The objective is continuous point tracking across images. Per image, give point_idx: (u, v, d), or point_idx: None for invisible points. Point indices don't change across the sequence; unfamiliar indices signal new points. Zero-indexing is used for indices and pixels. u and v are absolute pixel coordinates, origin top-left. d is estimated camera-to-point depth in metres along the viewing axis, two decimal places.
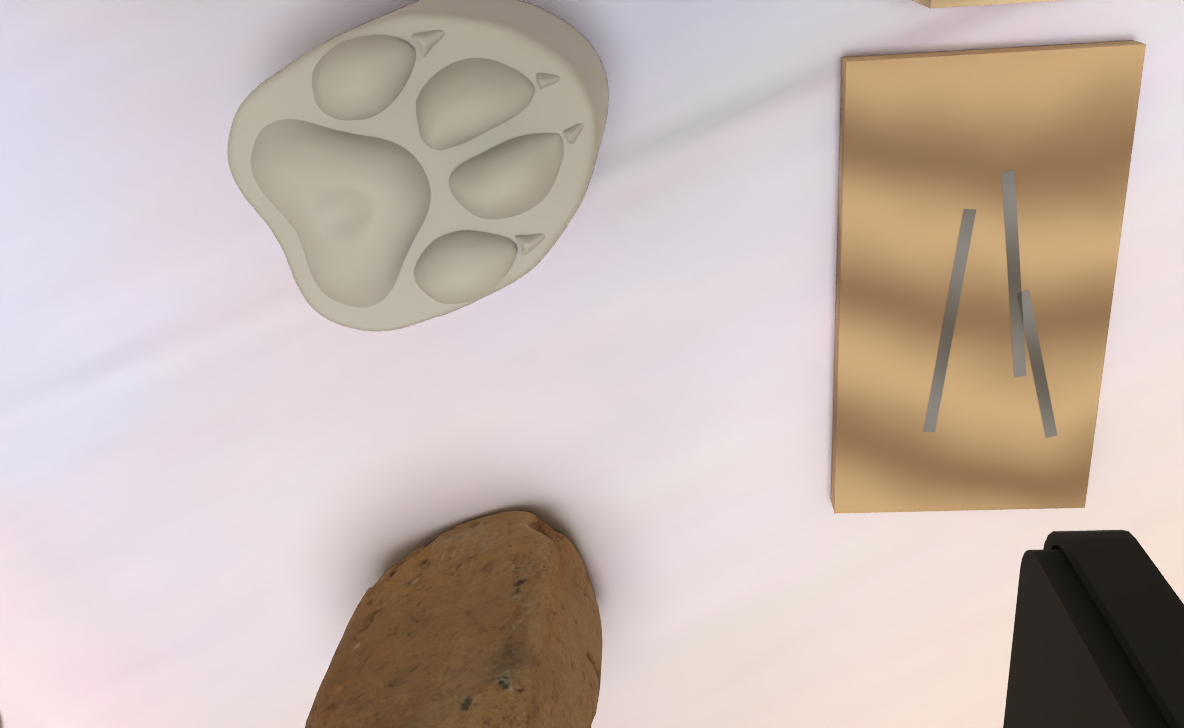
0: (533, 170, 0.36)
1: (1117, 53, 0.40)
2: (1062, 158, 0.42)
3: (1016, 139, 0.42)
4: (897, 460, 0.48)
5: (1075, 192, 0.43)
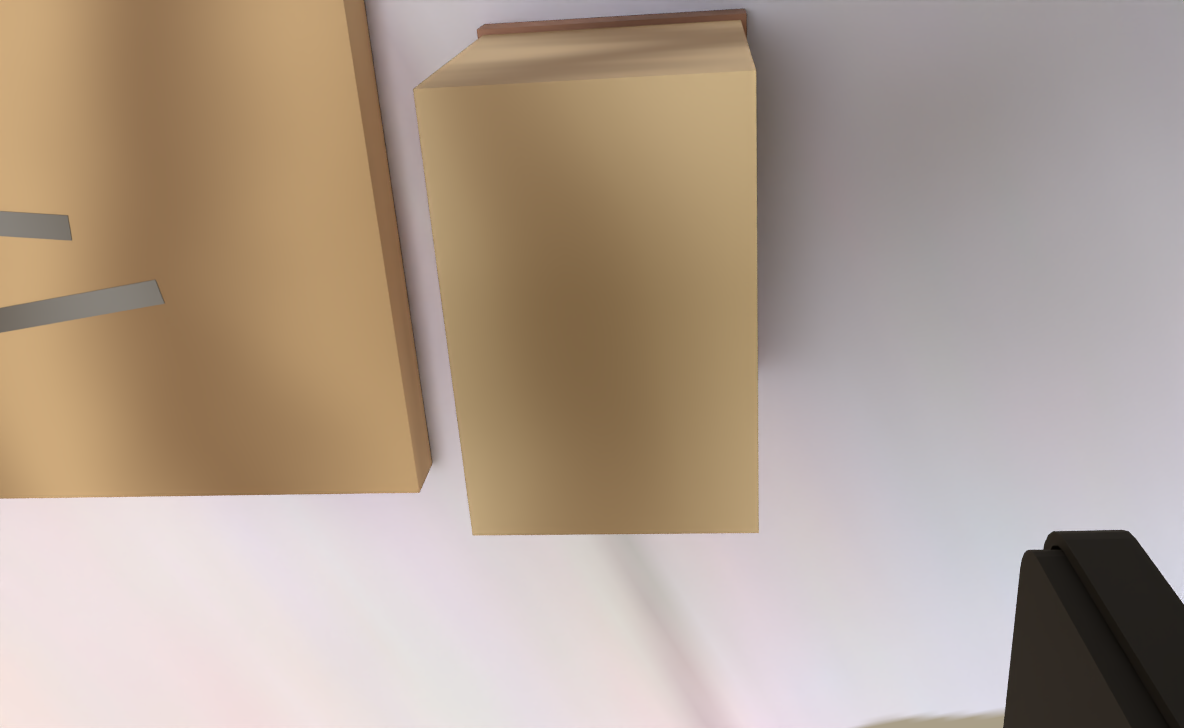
0: None
1: (398, 451, 0.22)
2: (201, 385, 0.22)
3: (222, 300, 0.21)
4: None
5: (143, 415, 0.22)
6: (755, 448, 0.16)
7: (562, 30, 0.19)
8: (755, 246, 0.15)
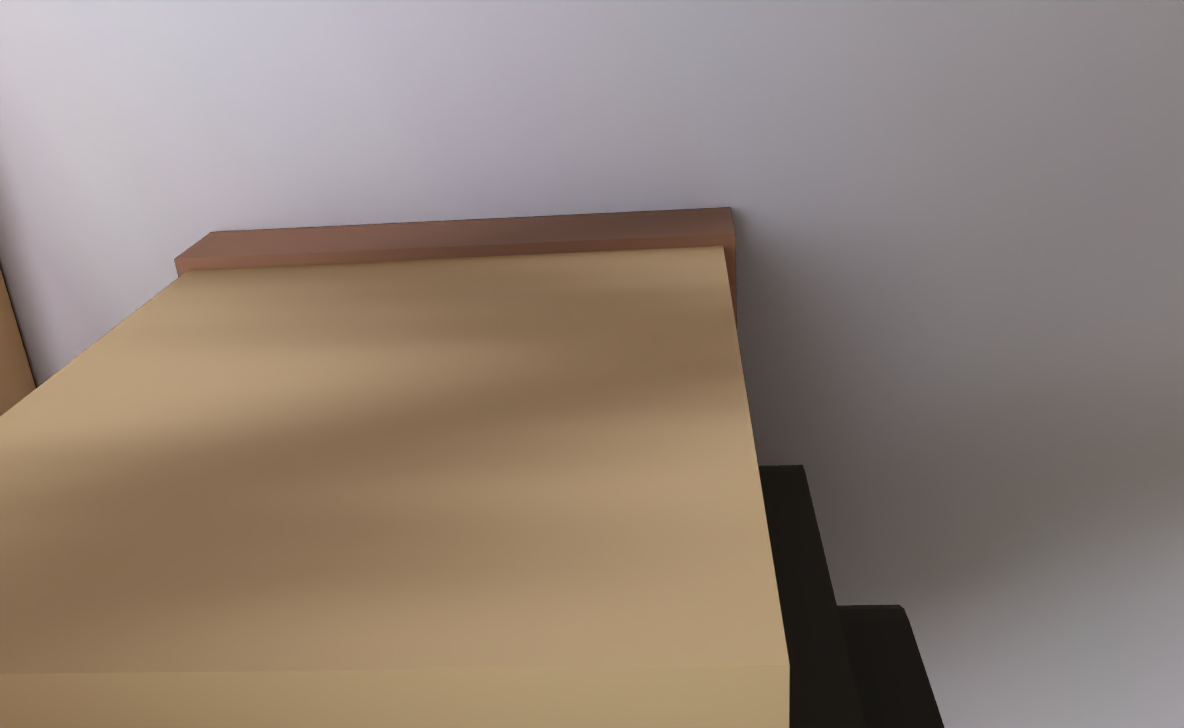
0: None
1: None
2: None
3: None
4: None
5: None
6: None
7: (349, 264, 0.09)
8: None
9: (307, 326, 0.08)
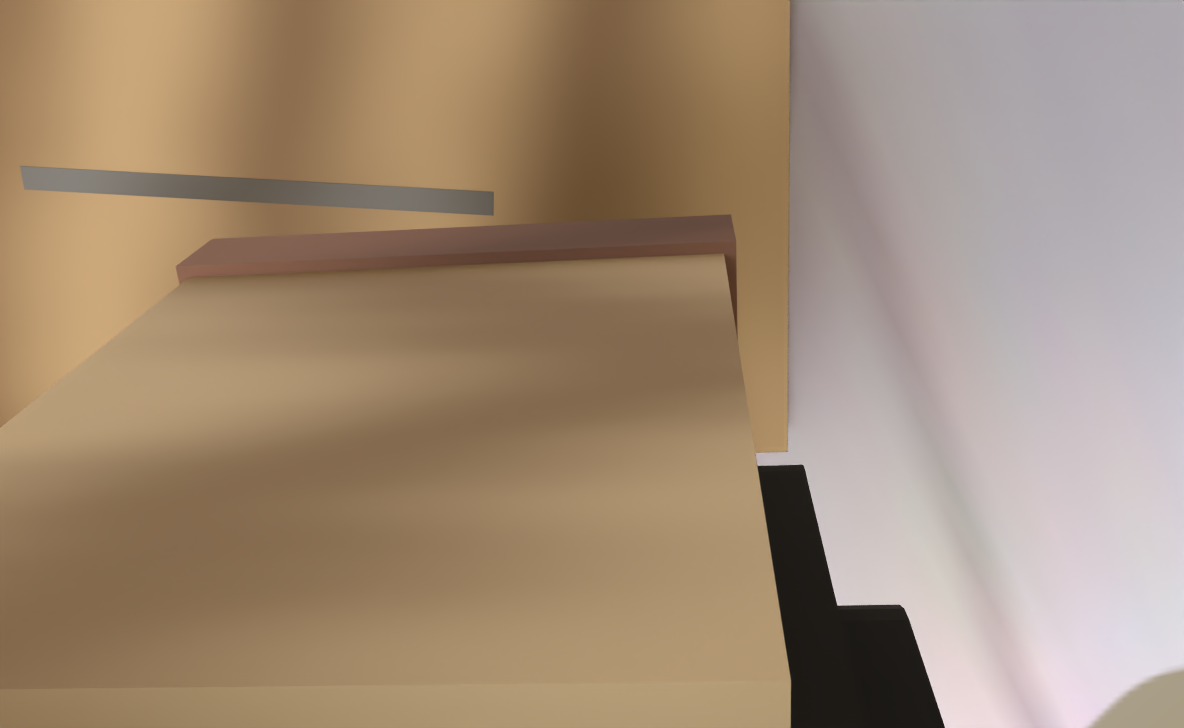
0: None
1: (774, 413, 0.24)
2: None
3: None
4: None
5: None
6: None
7: (350, 271, 0.09)
8: None
9: (309, 334, 0.08)
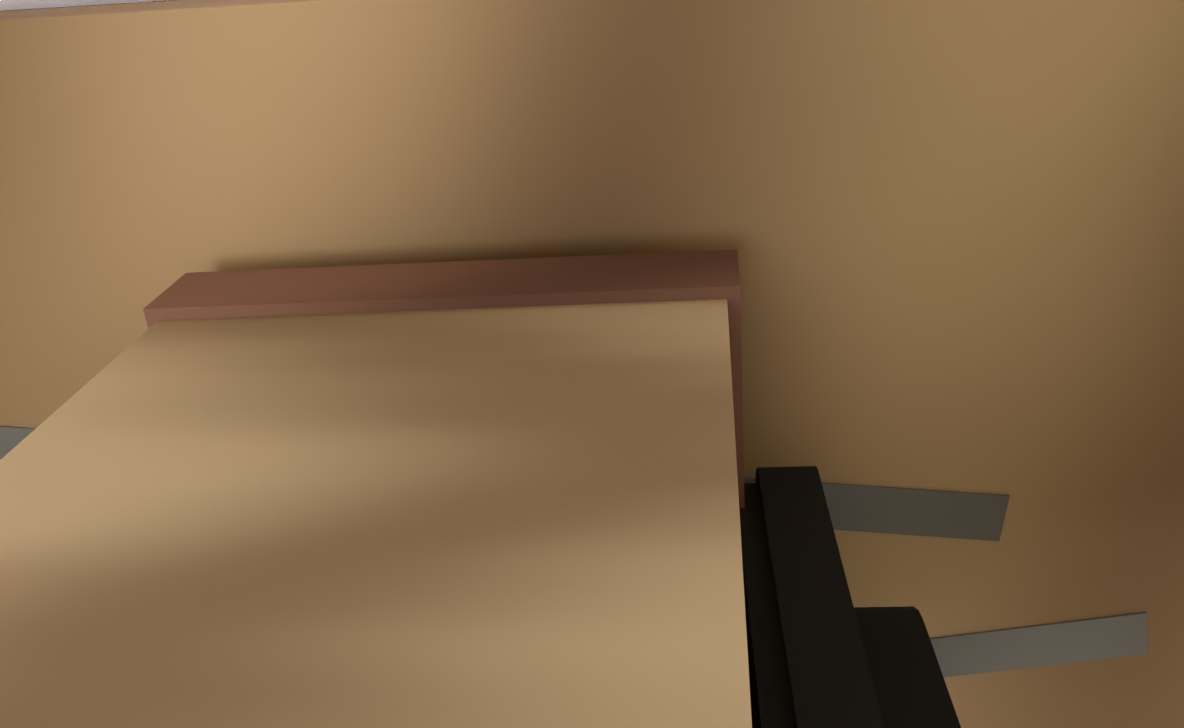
0: None
1: None
2: None
3: None
4: None
5: None
6: None
7: (327, 316, 0.08)
8: None
9: (273, 400, 0.07)
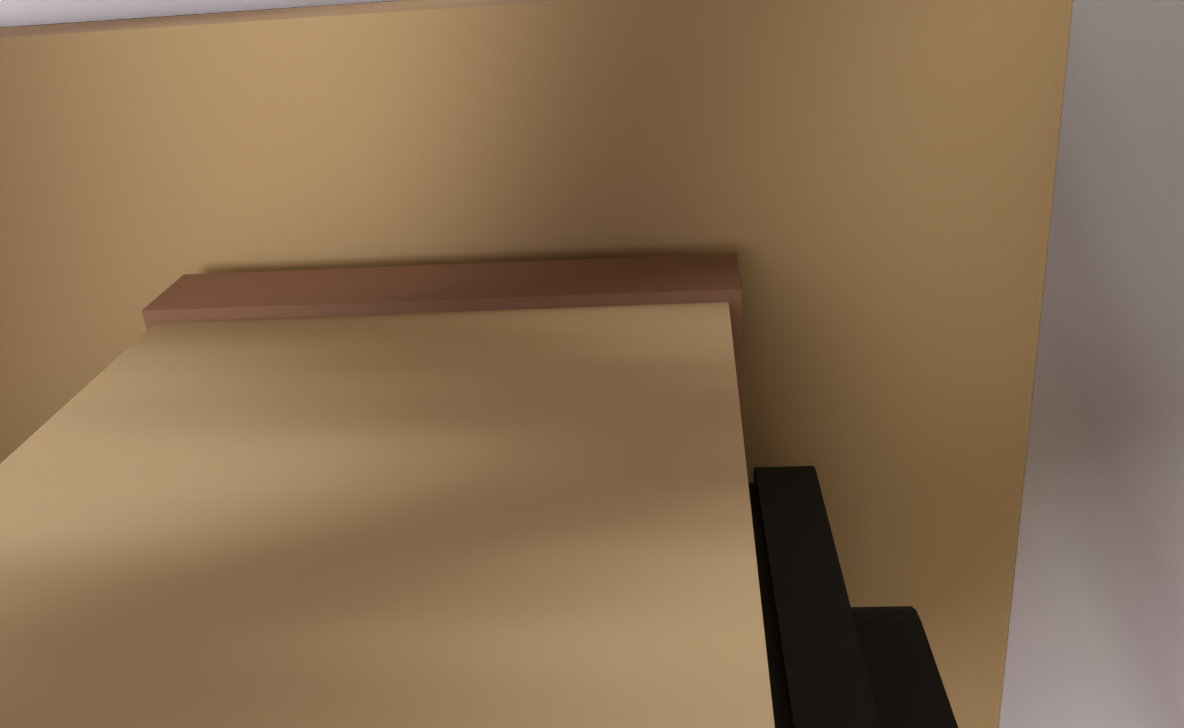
0: None
1: None
2: None
3: None
4: None
5: None
6: None
7: (327, 318, 0.08)
8: None
9: (277, 402, 0.07)
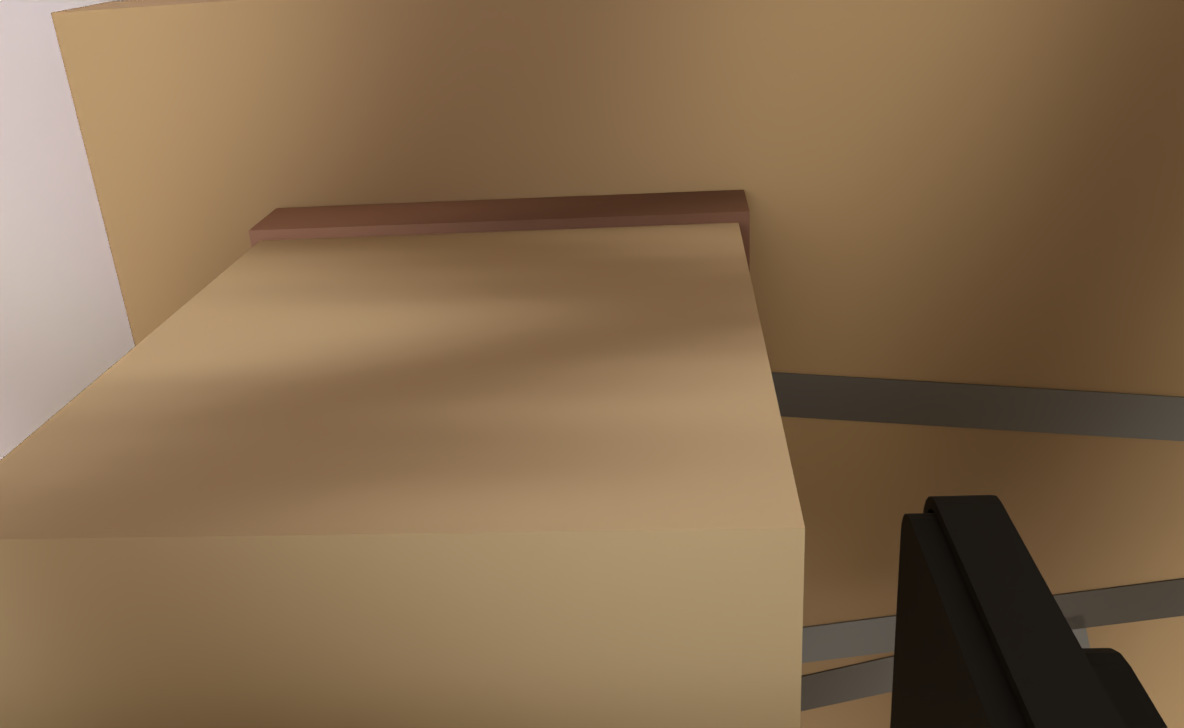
0: None
1: None
2: None
3: None
4: None
5: None
6: None
7: (405, 236, 0.10)
8: None
9: (377, 286, 0.09)
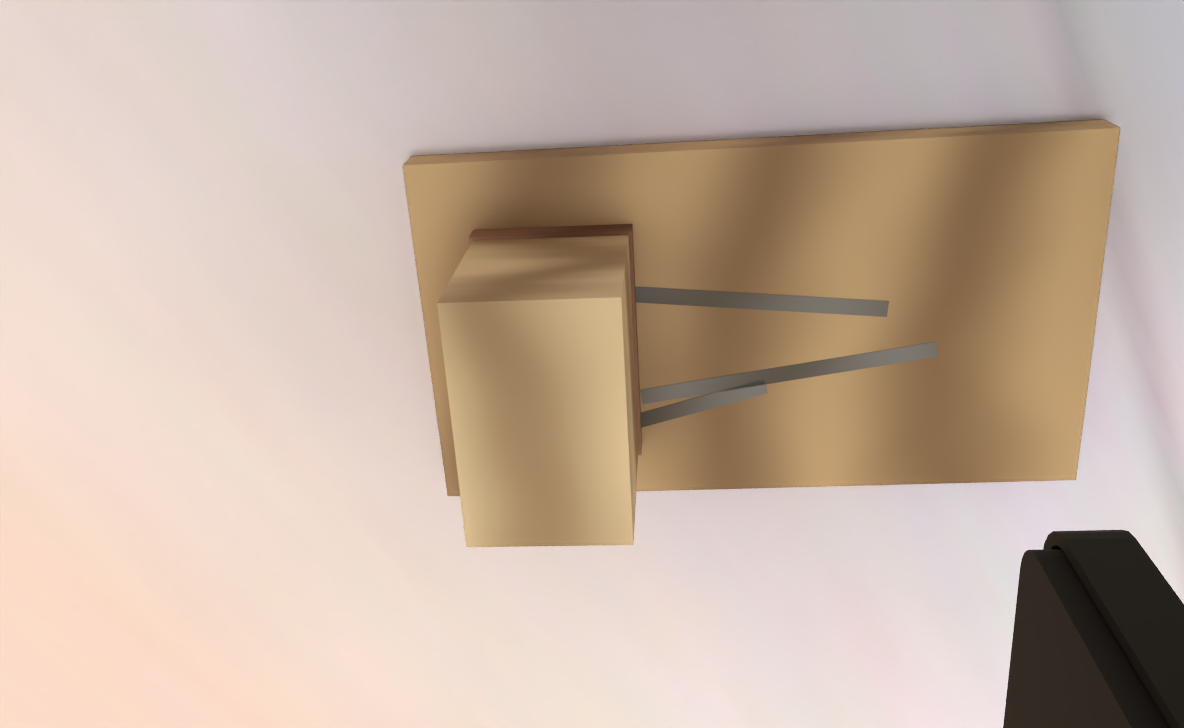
0: None
1: (1069, 452, 0.33)
2: (945, 409, 0.33)
3: (977, 354, 0.32)
4: None
5: (898, 430, 0.33)
6: (629, 496, 0.28)
7: (520, 239, 0.31)
8: (624, 386, 0.27)
9: (517, 254, 0.30)
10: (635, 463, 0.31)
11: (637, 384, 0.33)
